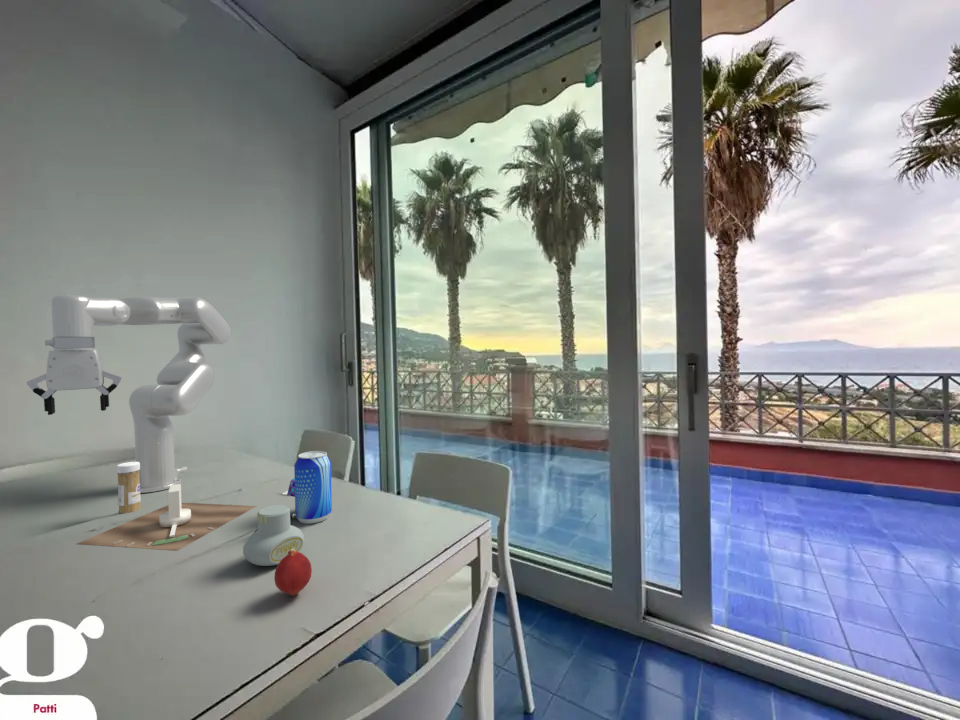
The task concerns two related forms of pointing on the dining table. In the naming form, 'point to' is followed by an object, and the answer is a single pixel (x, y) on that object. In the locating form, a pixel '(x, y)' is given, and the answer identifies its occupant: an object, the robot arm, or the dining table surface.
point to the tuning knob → (174, 510)
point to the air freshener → (272, 537)
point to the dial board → (168, 528)
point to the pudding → (291, 489)
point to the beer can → (313, 487)
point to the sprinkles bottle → (128, 487)
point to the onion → (293, 573)
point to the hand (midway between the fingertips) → (78, 412)
